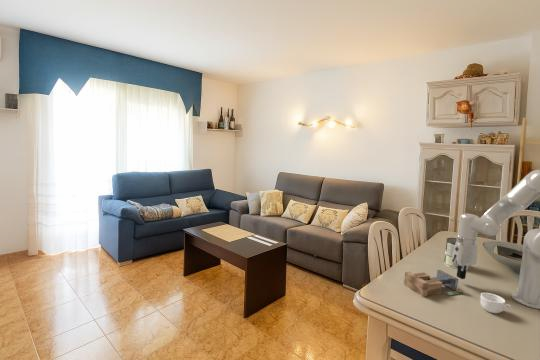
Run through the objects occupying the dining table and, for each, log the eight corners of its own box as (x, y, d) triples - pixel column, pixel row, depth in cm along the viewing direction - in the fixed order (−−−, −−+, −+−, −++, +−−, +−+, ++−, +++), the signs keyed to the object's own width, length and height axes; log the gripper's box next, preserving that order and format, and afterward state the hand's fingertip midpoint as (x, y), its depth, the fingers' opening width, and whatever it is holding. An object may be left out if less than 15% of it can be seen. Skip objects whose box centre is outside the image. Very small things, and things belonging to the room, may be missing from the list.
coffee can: (440, 260, 164) (443, 236, 163) (459, 262, 163) (462, 238, 162) (449, 268, 154) (452, 243, 152) (470, 270, 153) (473, 244, 151)
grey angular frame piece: (461, 292, 128) (462, 281, 128) (443, 294, 126) (444, 284, 125) (438, 279, 140) (439, 269, 139) (421, 281, 137) (422, 271, 137)
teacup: (478, 310, 116) (480, 297, 115) (479, 302, 122) (481, 290, 121) (510, 320, 109) (512, 307, 109) (510, 312, 115) (512, 299, 115)
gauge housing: (462, 293, 128) (464, 281, 127) (425, 299, 123) (427, 285, 122) (438, 280, 141) (440, 268, 140) (404, 284, 135) (405, 272, 134)
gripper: (460, 244, 129) (455, 283, 132) (486, 242, 133) (480, 280, 136) (446, 238, 136) (441, 275, 139) (471, 237, 140) (465, 272, 143)
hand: (460, 277), depth 137 cm, fingers closed
